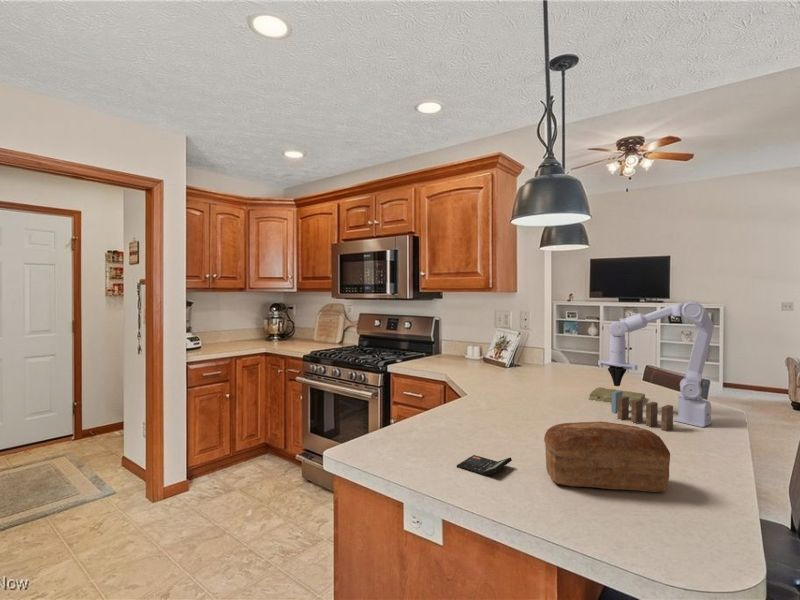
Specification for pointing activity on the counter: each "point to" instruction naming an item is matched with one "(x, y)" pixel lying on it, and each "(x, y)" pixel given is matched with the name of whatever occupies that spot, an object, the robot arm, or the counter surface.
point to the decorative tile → (606, 395)
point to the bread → (607, 456)
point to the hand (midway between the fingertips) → (617, 385)
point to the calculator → (482, 465)
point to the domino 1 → (615, 400)
